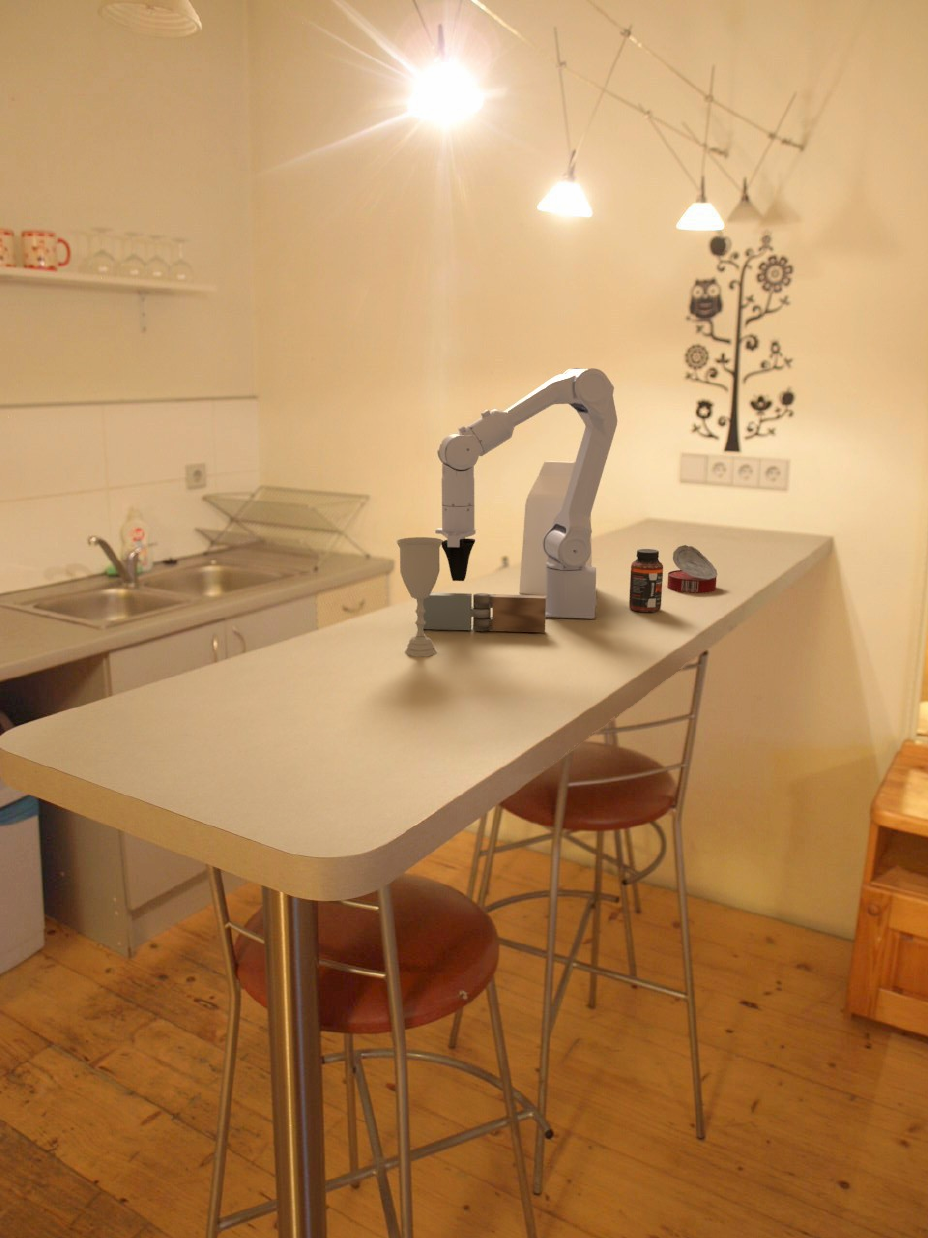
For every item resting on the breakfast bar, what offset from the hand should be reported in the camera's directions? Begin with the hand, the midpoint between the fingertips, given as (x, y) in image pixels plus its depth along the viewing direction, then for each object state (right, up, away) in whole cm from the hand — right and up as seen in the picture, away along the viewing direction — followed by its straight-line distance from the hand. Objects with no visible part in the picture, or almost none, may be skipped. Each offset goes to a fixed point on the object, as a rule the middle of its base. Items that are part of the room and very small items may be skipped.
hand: (458, 580), depth 178 cm
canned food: (+48, -1, +28) cm, 56 cm away
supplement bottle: (+35, -5, +10) cm, 37 cm away
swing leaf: (-1, -9, -5) cm, 10 cm away
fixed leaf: (+9, -9, -6) cm, 14 cm away
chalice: (-6, -12, -18) cm, 23 cm away
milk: (+20, -1, +26) cm, 33 cm away
